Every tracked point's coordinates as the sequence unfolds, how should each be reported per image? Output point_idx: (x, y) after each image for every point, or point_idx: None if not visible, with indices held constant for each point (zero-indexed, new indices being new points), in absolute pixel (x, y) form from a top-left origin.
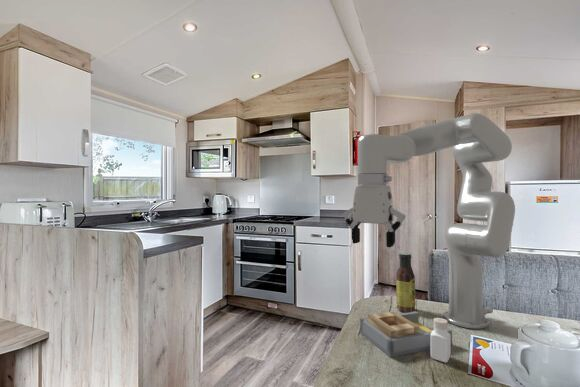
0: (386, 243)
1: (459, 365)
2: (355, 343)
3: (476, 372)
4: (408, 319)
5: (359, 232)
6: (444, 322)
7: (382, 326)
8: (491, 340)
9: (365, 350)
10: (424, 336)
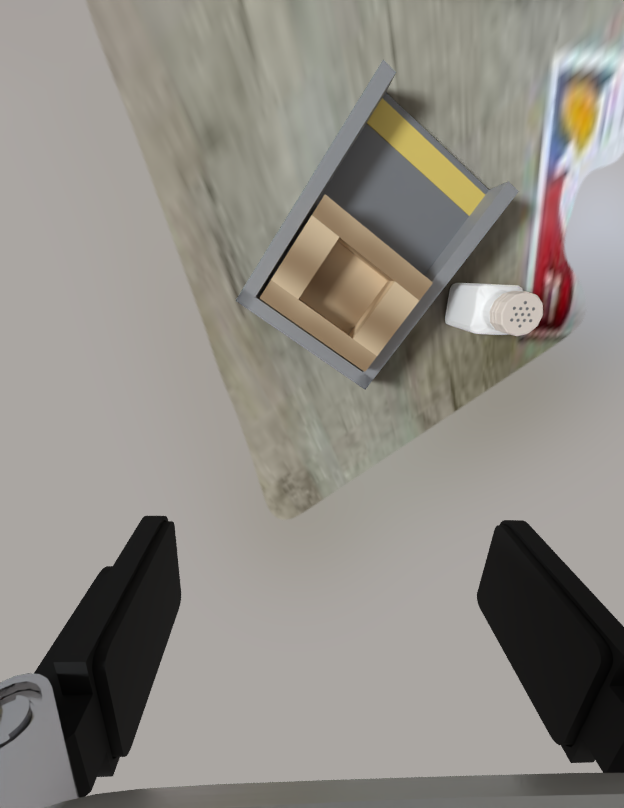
0: (489, 624)
1: None
2: (260, 365)
3: None
4: (359, 132)
5: (132, 616)
6: (533, 325)
7: (331, 347)
8: (612, 68)
9: (297, 382)
10: (440, 290)
